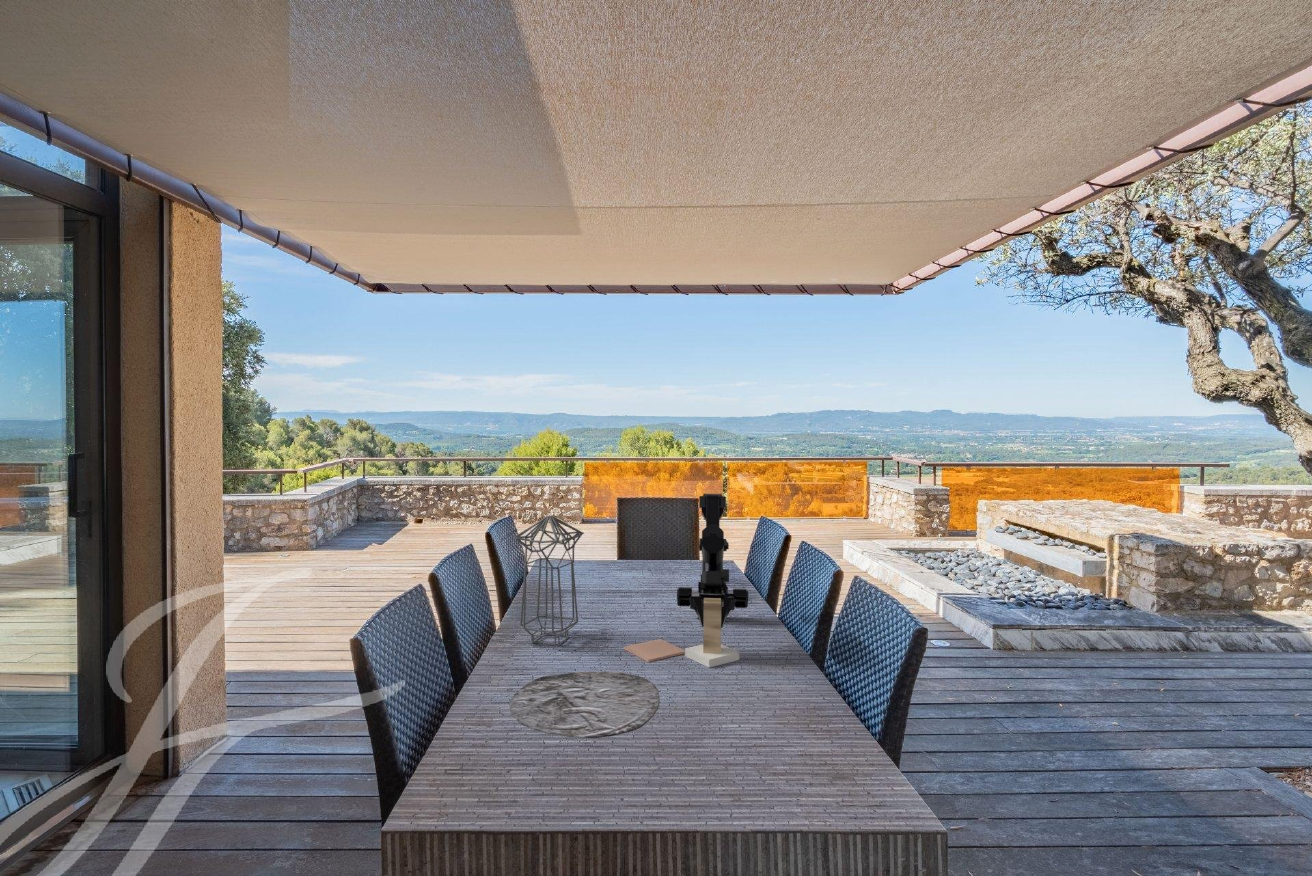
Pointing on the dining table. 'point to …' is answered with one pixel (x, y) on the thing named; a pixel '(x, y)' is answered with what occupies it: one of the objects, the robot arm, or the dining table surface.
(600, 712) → the worn metal disc
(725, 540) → the robot arm
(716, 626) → the oak block
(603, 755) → the dining table surface
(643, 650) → the terracotta tile
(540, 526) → the geometric lantern
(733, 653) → the white square tile
